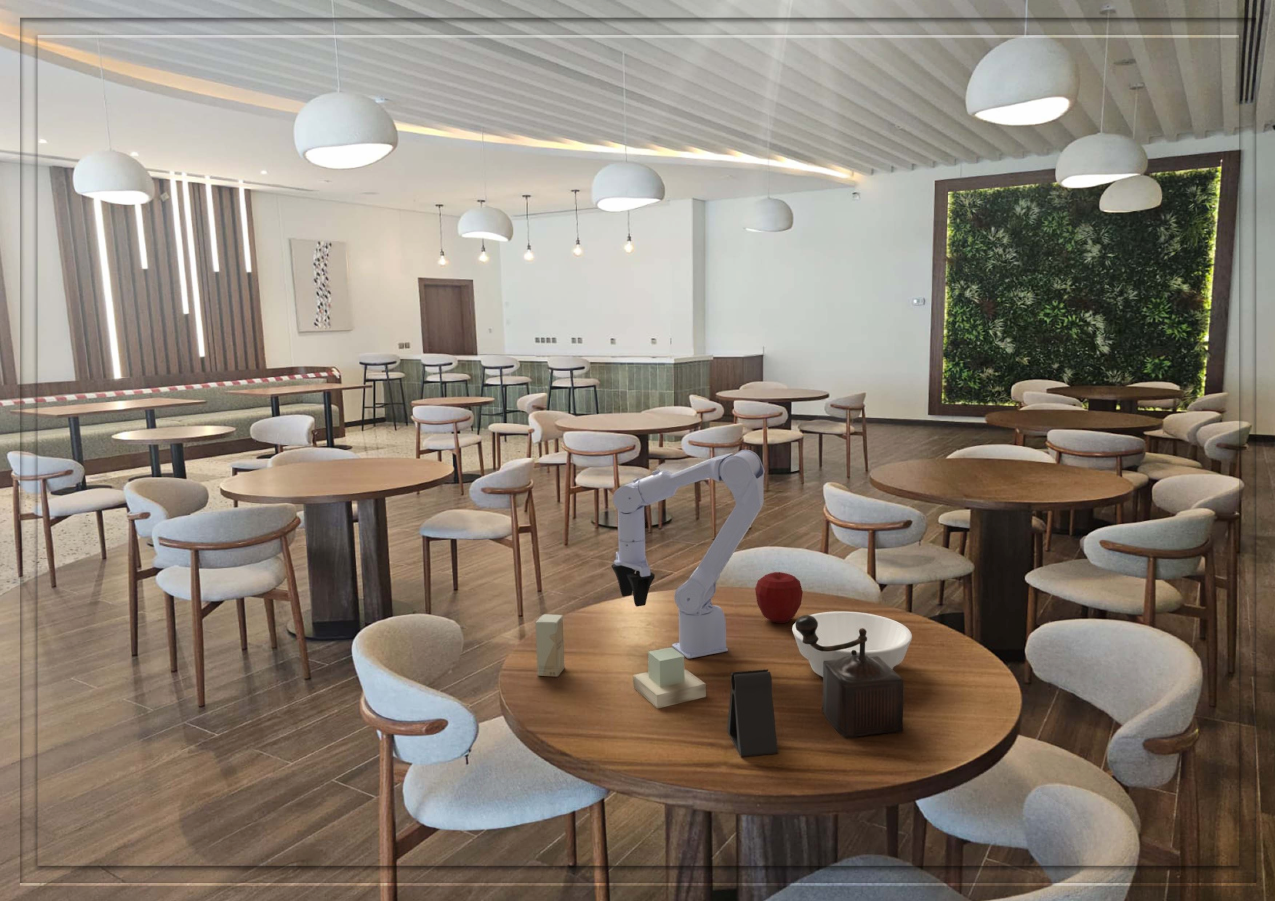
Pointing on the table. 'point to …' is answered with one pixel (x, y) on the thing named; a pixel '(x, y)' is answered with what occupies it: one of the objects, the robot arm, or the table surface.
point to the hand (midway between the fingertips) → (633, 600)
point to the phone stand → (752, 713)
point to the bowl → (844, 627)
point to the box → (550, 645)
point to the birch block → (669, 690)
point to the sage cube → (666, 667)
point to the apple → (779, 596)
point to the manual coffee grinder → (857, 688)
